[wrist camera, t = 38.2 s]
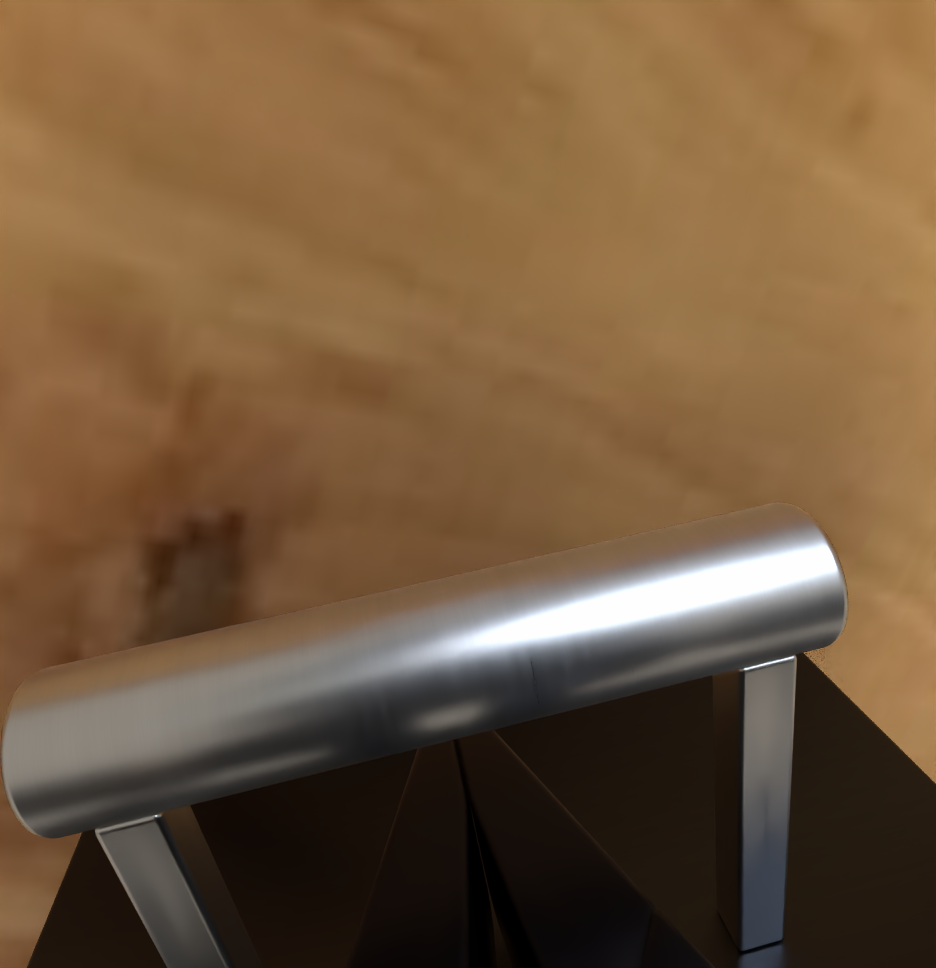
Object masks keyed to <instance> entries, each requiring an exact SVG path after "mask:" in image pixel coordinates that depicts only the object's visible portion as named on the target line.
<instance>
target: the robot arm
mask: <svg viewBox="0 0 936 968" xmlns="http://www.w3.org/2000/svg"><path fill="white" fill-rule="evenodd" d="M456 740H457V744H456ZM456 740H455V739H454V740H450V741H446V742H442V743H438V744H434V745H430V746H426V747H422V748H418V749H417V752H416V755H415V758H414V761H413V764H412V767H411V770H410V773H409V777H408V780H407V783H406V786H405V789H404V792H403V795H402V798H401V801H400V804H399V807H398V810H397V813H396V816H395V819H394V822H393V825H392V828H391V831H390V834H389V837H388V840H387V843H386V846H385V849H384V852H383V855H382V859H381V862H380V865H379V868H378V871H377V874H376V877H375V880H374V883H373V886H372V889H371V892H370V895H369V898H368V901H367V904H366V907H365V910H364V913H363V916H362V919H361V922H360V925H359V928H358V931H357V934H356V937H355V941H354V944H353V947H352V950H351V953H350V956H349V959H348V962H347V965H346V968H498V966H497V955H496V945H495V935H494V926H493V918H492V910H491V904H490V899H489V893H488V888H489V892H490V896H491V900H492V904H493V908H494V911H495V915H496V918H497V921H498V924H499V928H500V931H501V934H502V937H503V940H504V942H505V945H506V948H507V951H508V954H509V957H510V960H511V963H512V966H513V968H715V967H714V966H713V965H712V964H711V963H710V962H709V961H708V960H707V959H706V958H705V957H704V956H703V955H702V954H701V953H700V952H699V951H698V950H697V949H696V948H695V947H694V946H693V945H692V944H691V943H690V942H689V941H688V940H687V938H686V937H685V936H684V935H683V934H682V933H681V932H680V931H679V930H678V929H677V928H676V927H675V926H674V925H673V923H672V922H671V921H670V920H669V919H668V918H667V917H666V916H665V915H664V914H663V913H662V912H661V911H660V910H659V909H656V910H655V906H654V903H653V902H652V901H651V900H650V899H649V898H648V897H647V896H646V895H645V894H644V892H643V891H642V890H641V889H640V888H639V887H638V886H637V885H636V884H635V883H634V882H633V881H632V879H631V878H630V877H629V876H628V875H627V874H626V873H625V872H624V871H623V870H622V869H621V868H620V866H619V865H618V864H617V863H616V862H615V861H614V860H613V859H612V858H611V857H610V856H609V855H608V853H607V852H606V851H605V850H604V849H603V848H602V847H601V846H600V845H599V844H598V843H597V841H596V840H595V839H594V838H593V837H592V836H591V835H590V834H589V833H588V832H587V831H586V830H585V828H584V827H583V826H582V825H581V824H580V823H579V822H578V821H577V820H576V819H575V818H574V817H573V815H572V814H571V813H570V812H569V811H568V810H567V809H566V808H565V807H564V806H563V805H562V804H561V802H560V801H559V800H558V799H557V798H556V797H555V796H554V795H553V794H552V793H551V792H550V791H549V789H548V788H547V787H546V786H545V785H544V784H543V783H542V782H541V781H540V780H539V779H538V777H537V776H536V775H535V774H534V773H533V772H532V771H531V770H530V769H529V768H528V767H527V766H526V764H525V763H524V762H523V761H522V760H521V759H520V758H519V757H518V756H517V755H516V754H515V753H514V751H513V750H512V749H511V748H510V747H509V746H508V745H507V744H506V743H505V742H504V741H503V740H502V738H501V737H500V736H499V735H498V734H497V733H496V732H495V731H494V730H490V731H486V732H482V733H478V734H474V735H470V736H466V737H462V738H458V739H456ZM457 745H458V749H457ZM458 750H459V753H458ZM459 755H460V758H459ZM460 759H461V762H460ZM461 764H462V767H461ZM462 769H463V771H462ZM463 774H464V776H463ZM464 779H465V780H464ZM465 783H466V785H465ZM466 788H467V790H466ZM467 793H468V794H467ZM468 797H469V799H468ZM469 802H470V804H469ZM470 806H471V808H470ZM471 811H472V813H471ZM472 815H473V818H472ZM473 820H474V822H473ZM474 824H475V827H474ZM475 829H476V832H475ZM476 833H477V836H476ZM477 838H478V841H477ZM478 842H479V846H478ZM479 847H480V850H479ZM480 851H481V855H480ZM481 856H482V860H483V864H482V860H481ZM483 865H484V869H485V874H486V878H487V883H488V888H487V883H486V879H485V874H484V869H483Z"/></svg>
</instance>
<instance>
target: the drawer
mask: <svg viewBox="0 0 936 968" xmlns="http://www.w3.org/2000/svg"><path fill="white" fill-rule="evenodd" d="M847 616H848V592H847V585H846V580H845V576H844V572H843V569H842V566H841V563H840V561H839V558H838V556H837V553H836V551H835V549H834V547H833V545H832V543H831V541H830V540H829V538H828V536H827V535H826V533H825V532H824V530H823V529H822V527H821V526H820V525H819V524H818V523H817V521H816V520H815V519H814V518H813V517H812V516H811V515H810V514H808V513H807V512H806V511H804V510H803V509H801V508H800V507H798V506H795V505H793V504H788V503H783V502H775V503H770V504H766V505H761V506H757V507H753V508H748V509H744V510H739V511H735V512H731V513H726V514H722V515H717V516H713V517H709V518H704V519H700V520H695V521H691V522H687V523H682V524H678V525H673V526H669V527H664V528H660V529H656V530H651V531H647V532H642V533H638V534H634V535H629V536H625V537H620V538H616V539H612V540H607V541H603V542H598V543H594V544H590V545H585V546H581V547H576V548H572V549H568V550H563V551H559V552H554V553H550V554H545V555H541V556H537V557H532V558H528V559H523V560H519V561H515V562H510V563H506V564H501V565H497V566H493V567H488V568H484V569H479V570H475V571H471V572H466V573H462V574H457V575H453V576H449V577H444V578H440V579H435V580H431V581H427V582H422V583H418V584H413V585H409V586H404V587H400V588H396V589H391V590H387V591H382V592H378V593H374V594H369V595H365V596H360V597H356V598H352V599H347V600H343V601H338V602H334V603H330V604H325V605H321V606H316V607H312V608H308V609H303V610H299V611H294V612H290V613H285V614H281V615H277V616H272V617H268V618H263V619H259V620H255V621H250V622H246V623H241V624H237V625H233V626H228V627H224V628H219V629H215V630H211V631H206V632H202V633H197V634H193V635H189V636H184V637H180V638H175V639H171V640H166V641H162V642H158V643H153V644H149V645H144V646H140V647H136V648H131V649H127V650H122V651H118V652H114V653H109V654H105V655H100V656H96V657H92V658H87V659H83V660H78V661H74V662H70V663H65V664H61V665H56V666H52V667H48V668H43V669H41V670H38V671H37V672H35V673H34V674H32V675H31V676H29V677H28V678H26V679H25V680H24V681H23V682H22V683H21V684H20V686H19V687H18V688H17V689H16V691H15V693H14V694H13V696H12V698H11V700H10V703H9V705H8V707H7V711H6V714H5V717H4V722H3V726H2V733H1V742H0V764H1V774H2V779H3V785H4V789H5V792H6V796H7V799H8V801H9V804H10V806H11V808H12V810H13V812H14V814H15V816H16V817H17V819H18V820H19V822H20V823H21V824H22V825H23V826H24V827H25V828H26V829H27V830H28V831H30V832H31V833H33V834H35V835H37V836H41V837H46V838H51V839H52V838H60V837H64V836H68V835H72V834H76V833H80V832H82V834H81V837H80V839H79V842H78V844H77V847H76V849H75V852H74V854H73V856H72V859H71V861H70V864H69V866H68V869H67V871H66V873H65V876H64V878H63V881H62V883H61V886H60V888H59V891H58V893H57V895H56V898H55V900H54V903H53V905H52V908H51V910H50V912H49V915H48V917H47V920H46V922H45V925H44V927H43V929H42V932H41V934H40V937H39V939H38V942H37V944H36V947H35V949H34V951H33V954H32V956H31V959H30V961H29V964H28V966H27V968H346V965H347V962H348V959H349V956H350V953H351V950H352V947H353V944H354V941H355V937H356V934H357V931H358V928H359V925H360V922H361V919H362V916H363V913H364V910H365V907H366V904H367V901H368V898H369V895H370V892H371V889H372V886H373V883H374V880H375V877H376V874H377V871H378V868H379V865H380V862H381V859H382V855H383V852H384V849H385V846H386V843H387V840H388V837H389V834H390V831H391V828H392V825H393V822H394V819H395V816H396V813H397V810H398V807H399V804H400V801H401V798H402V795H403V792H404V789H405V786H406V783H407V780H408V777H409V773H410V770H411V767H412V764H413V761H414V758H415V755H416V752H417V749H418V748H422V747H426V746H430V745H434V744H438V743H442V742H446V741H450V740H454V739H455V740H456V739H458V738H462V737H466V736H470V735H474V734H478V733H482V732H486V731H490V730H494V731H495V732H496V733H497V734H498V735H499V736H500V737H501V738H502V740H503V741H504V742H505V743H506V744H507V745H508V746H509V747H510V748H511V749H512V750H513V751H514V753H515V754H516V755H517V756H518V757H519V758H520V759H521V760H522V761H523V762H524V763H525V764H526V766H527V767H528V768H529V769H530V770H531V771H532V772H533V773H534V774H535V775H536V776H537V777H538V779H539V780H540V781H541V782H542V783H543V784H544V785H545V786H546V787H547V788H548V789H549V791H550V792H551V793H552V794H553V795H554V796H555V797H556V798H557V799H558V800H559V801H560V802H561V804H562V805H563V806H564V807H565V808H566V809H567V810H568V811H569V812H570V813H571V814H572V815H573V817H574V818H575V819H576V820H577V821H578V822H579V823H580V824H581V825H582V826H583V827H584V828H585V830H586V831H587V832H588V833H589V834H590V835H591V836H592V837H593V838H594V839H595V840H596V841H597V843H598V844H599V845H600V846H601V847H602V848H603V849H604V850H605V851H606V852H607V853H608V855H609V856H610V857H611V858H612V859H613V860H614V861H615V862H616V863H617V864H618V865H619V866H620V868H621V869H622V870H623V871H624V872H625V873H626V874H627V875H628V876H629V877H630V878H631V879H632V881H633V882H634V883H635V884H636V885H637V886H638V887H639V888H640V889H641V890H642V891H643V892H644V894H645V895H646V896H647V897H648V898H649V899H650V900H651V901H652V902H653V903H654V906H655V910H656V909H659V910H660V911H661V912H662V913H663V914H664V915H665V916H666V917H667V918H668V919H669V920H670V921H671V922H672V923H673V925H674V926H675V927H676V928H677V929H678V930H679V931H680V932H681V933H682V934H683V935H684V936H685V937H686V938H687V940H688V941H689V942H690V943H691V944H692V945H693V946H694V947H695V948H696V949H697V950H698V951H699V952H700V953H701V954H702V955H703V956H704V957H705V958H706V959H707V960H708V961H709V962H710V963H711V964H712V965H713V966H714V967H715V968H936V784H935V783H934V782H933V781H932V780H931V779H930V778H929V777H928V776H927V775H926V774H925V773H924V772H923V771H922V770H921V769H920V768H919V767H918V766H917V765H916V764H915V763H914V762H913V761H912V760H911V759H910V758H909V757H908V756H907V755H906V754H905V753H904V752H903V751H902V750H901V749H900V748H899V747H898V746H897V745H896V744H895V743H894V742H893V741H892V740H891V739H890V738H889V737H888V736H887V735H886V734H885V733H884V732H883V731H882V730H881V729H880V728H879V727H878V726H877V725H876V724H875V723H874V722H873V721H872V720H871V719H870V718H869V717H868V716H867V715H866V714H865V713H864V712H863V711H862V710H861V709H860V708H859V707H858V706H857V705H855V704H854V703H853V702H852V701H851V700H850V699H849V698H848V697H847V696H846V695H845V694H844V693H843V692H842V691H841V690H840V689H839V688H838V687H837V686H836V685H835V684H834V683H833V682H832V681H831V680H830V679H829V678H828V677H827V676H826V675H825V674H824V673H823V672H822V671H821V670H820V669H819V668H818V667H817V666H816V665H815V664H814V663H813V662H812V661H811V660H810V659H809V658H808V657H807V656H806V655H805V654H804V653H803V652H807V651H811V650H815V649H819V648H823V647H826V646H829V645H830V644H831V643H833V642H834V641H835V640H836V639H837V638H838V637H839V636H840V635H841V634H842V632H843V630H844V628H845V625H846V621H847ZM456 744H457V740H456ZM457 749H458V745H457ZM458 753H459V750H458ZM459 758H460V755H459ZM460 762H461V759H460ZM461 767H462V764H461ZM462 771H463V769H462ZM463 776H464V774H463ZM464 780H465V779H464ZM465 785H466V783H465ZM466 790H467V788H466ZM467 794H468V793H467ZM468 799H469V797H468ZM469 804H470V802H469ZM470 808H471V806H470ZM471 813H472V811H471ZM472 818H473V815H472ZM473 822H474V820H473ZM474 827H475V824H474ZM475 832H476V829H475ZM476 836H477V833H476ZM477 841H478V838H477ZM478 846H479V842H478ZM479 850H480V847H479ZM480 855H481V851H480ZM481 860H482V856H481ZM482 864H483V860H482ZM483 869H484V865H483ZM484 874H485V869H484ZM485 879H486V883H487V878H486V874H485ZM487 888H488V883H487ZM488 893H489V899H490V904H491V910H492V918H493V926H494V935H495V945H496V955H497V966H498V968H513V966H512V963H511V960H510V957H509V954H508V951H507V948H506V945H505V942H504V940H503V937H502V934H501V931H500V928H499V924H498V921H497V918H496V915H495V911H494V908H493V904H492V900H491V896H490V892H489V888H488Z"/></svg>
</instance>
